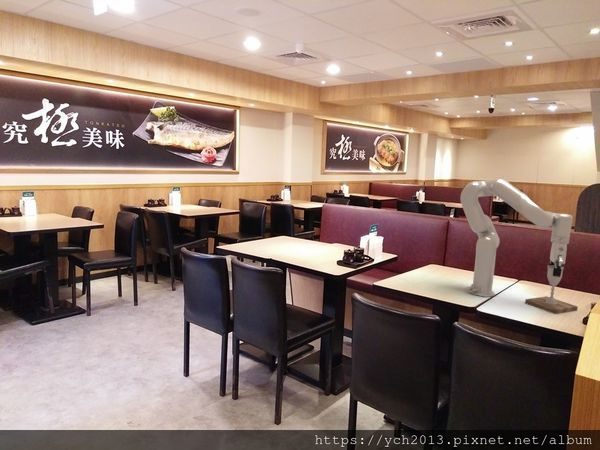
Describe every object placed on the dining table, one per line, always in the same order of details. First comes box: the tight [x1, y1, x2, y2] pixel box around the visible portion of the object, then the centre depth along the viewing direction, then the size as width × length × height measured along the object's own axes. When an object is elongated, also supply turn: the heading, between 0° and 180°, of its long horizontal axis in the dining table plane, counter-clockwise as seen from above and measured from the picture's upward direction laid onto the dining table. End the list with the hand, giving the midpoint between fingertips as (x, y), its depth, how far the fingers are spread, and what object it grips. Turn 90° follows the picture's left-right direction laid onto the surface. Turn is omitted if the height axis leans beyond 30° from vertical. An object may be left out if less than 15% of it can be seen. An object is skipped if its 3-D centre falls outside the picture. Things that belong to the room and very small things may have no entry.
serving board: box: [524, 295, 579, 315], centre depth 209 cm, size 16×16×2 cm
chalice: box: [545, 264, 565, 304], centre depth 208 cm, size 7×7×18 cm
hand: (554, 273), depth 207 cm, fingers open, 9 cm apart
